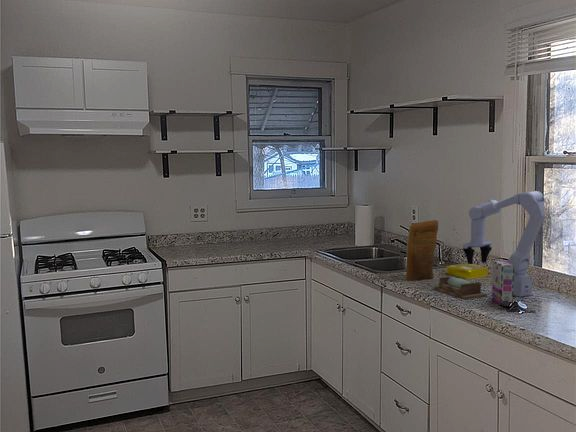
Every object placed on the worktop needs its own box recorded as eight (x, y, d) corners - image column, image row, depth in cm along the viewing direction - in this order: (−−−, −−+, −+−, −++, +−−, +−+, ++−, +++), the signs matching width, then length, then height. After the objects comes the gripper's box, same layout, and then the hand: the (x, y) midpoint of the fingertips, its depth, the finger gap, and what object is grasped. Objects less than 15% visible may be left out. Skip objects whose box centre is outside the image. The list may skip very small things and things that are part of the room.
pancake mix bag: (441, 278, 275) (442, 220, 272) (409, 282, 267) (410, 223, 264) (432, 275, 281) (433, 219, 278) (400, 279, 273) (401, 221, 270)
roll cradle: (486, 296, 240) (487, 283, 239) (463, 299, 235) (464, 286, 235) (455, 286, 258) (456, 274, 258) (433, 289, 254) (433, 276, 253)
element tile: (489, 276, 280) (489, 266, 280) (468, 280, 272) (468, 270, 272) (465, 271, 293) (465, 261, 292) (444, 274, 285) (444, 265, 285)
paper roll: (472, 292, 243) (472, 280, 242) (462, 293, 241) (463, 282, 241) (456, 287, 252) (456, 276, 252) (447, 288, 250) (447, 277, 250)
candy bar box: (513, 307, 223) (514, 265, 222) (500, 307, 223) (501, 265, 222) (503, 299, 234) (504, 260, 233) (491, 299, 235) (492, 260, 233)
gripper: (484, 231, 263) (483, 260, 264) (458, 233, 257) (458, 262, 259) (495, 232, 256) (494, 262, 258) (469, 235, 251) (468, 265, 252)
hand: (476, 263), depth 258 cm, fingers open, 7 cm apart
